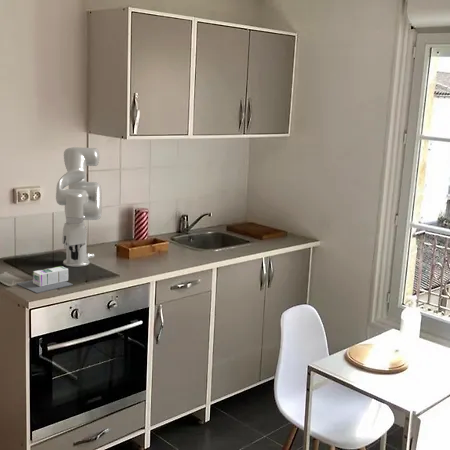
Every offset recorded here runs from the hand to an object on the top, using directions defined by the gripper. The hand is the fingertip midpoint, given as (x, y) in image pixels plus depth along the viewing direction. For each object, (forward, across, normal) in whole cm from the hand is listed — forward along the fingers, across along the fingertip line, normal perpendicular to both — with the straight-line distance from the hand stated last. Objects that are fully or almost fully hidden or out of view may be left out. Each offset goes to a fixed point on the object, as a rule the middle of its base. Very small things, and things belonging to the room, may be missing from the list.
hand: (74, 259), depth 282 cm
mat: (+9, +16, +1) cm, 18 cm away
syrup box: (+6, +5, 0) cm, 8 cm away
